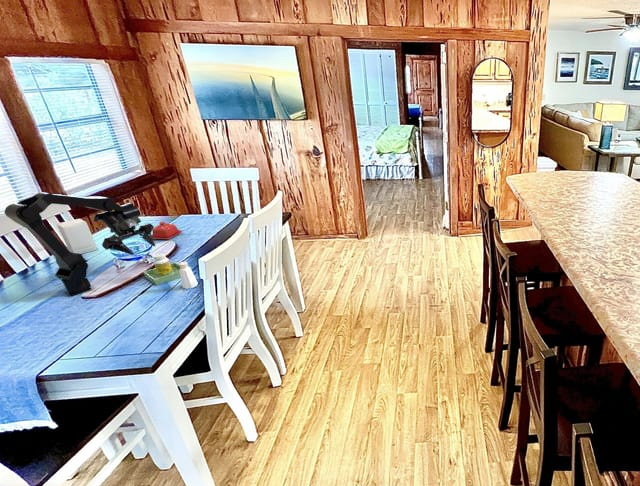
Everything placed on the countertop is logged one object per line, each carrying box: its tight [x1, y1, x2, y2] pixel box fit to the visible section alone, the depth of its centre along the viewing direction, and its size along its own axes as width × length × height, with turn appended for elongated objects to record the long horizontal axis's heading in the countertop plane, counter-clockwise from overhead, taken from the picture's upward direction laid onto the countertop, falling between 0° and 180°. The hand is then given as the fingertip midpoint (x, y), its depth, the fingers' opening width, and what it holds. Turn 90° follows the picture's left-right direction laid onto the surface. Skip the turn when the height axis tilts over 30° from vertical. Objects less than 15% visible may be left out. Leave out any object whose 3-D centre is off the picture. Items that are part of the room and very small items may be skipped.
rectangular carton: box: [56, 218, 99, 255], centre depth 190 cm, size 9×9×15 cm
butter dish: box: [151, 221, 184, 240], centre depth 209 cm, size 12×12×8 cm
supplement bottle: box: [153, 252, 173, 277], centre depth 170 cm, size 5×5×10 cm
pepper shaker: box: [178, 261, 199, 290], centre depth 162 cm, size 5×5×11 cm
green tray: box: [142, 261, 181, 286], centre depth 172 cm, size 12×12×3 cm
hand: (144, 249), depth 169 cm, fingers open, 9 cm apart
